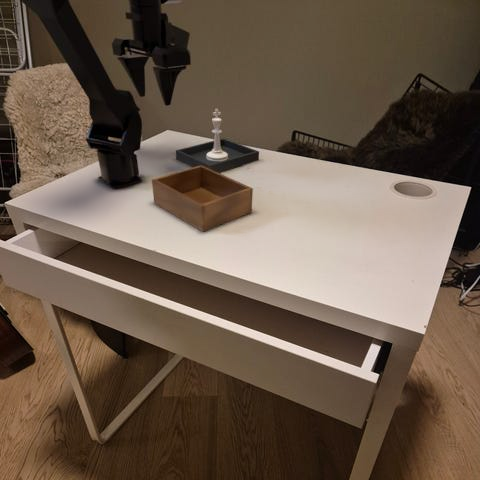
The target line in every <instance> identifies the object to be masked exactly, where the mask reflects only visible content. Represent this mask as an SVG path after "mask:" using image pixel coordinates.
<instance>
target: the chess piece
mask: <svg viewBox="0 0 480 480" xmlns="http://www.w3.org/2000/svg"><path fill="white" fill-rule="evenodd" d="M220 115H222V112H221V111H219V109H218V108H214V112H212V116H215V117H213V118H212V119H211V122H212V124H213V128H214V129H212V131H211V133H213V134H214V139H213V141H214V147H213V149H212V151H210V152H208V153H207V156H206V158H207V159H208V160H210V161H224V160H227V159H228V154H227V153H226V152H224V151H222V149H221V146H220V139H221V137H220V134H222V132H223V131H222V129H220V127H221V123H222V118H220V117H219V116H220Z"/></svg>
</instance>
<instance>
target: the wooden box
mask: <svg viewBox="0 0 480 480" xmlns="http://www.w3.org/2000/svg"><path fill="white" fill-rule="evenodd" d="M151 185H152V186H151V187H152V194H153V196H152V197H153V203H154V204H155V205H156V206H158V207H161V208H162V209H164V210H166V211H167V212H168V213H171V214H172V215H174V216H175V217H177V218H179V219H181V220H182V221H184V222H186V223H187V224H190V225H191V226H193V227H195V228H196V229H197V230H199V231H201V232H205V231H208V230H210V229H213V228H215V227H217V226H220V225H223V224H226V223H228V222H231V221H233V220H236V219H239V218H240V217H243V216H246V215H248V214H251V213H253V196H254V195H253V194H254V193H253V192H254V188H253V187H251V186H248V185H247V184H244V183H242V182H240V181H237V180H235V179H233V178H231V177H229V176H227V175H224V174H222V173H221V172H219V173H217V172H215V171H213V170H211V169H209V168H206V167H204V166H202V165H200V166H197V167H190V168H187V169H184V170H183V169H182V170H180V171H176V172H173V173H170V174H165V175H162V176H159V177H155V178H152V179H151Z"/></svg>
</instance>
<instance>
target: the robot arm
mask: <svg viewBox="0 0 480 480" xmlns="http://www.w3.org/2000/svg"><path fill="white" fill-rule="evenodd" d="M19 1H20V2H21V3H23V4H24V5H25V6H26V7H27V8H29V10H31V11H32V12H33V13H35V15H36V16H37V17H38V18H39V20H40V22H41V23H42V25H43V26H44V28H45V30H46V31H47V33H48V35H49V37H50V38H51V39H52V42H53V43H54V45H55V46H56V49H58V51H59V53H60V55H61V56H62V58H63V59H64V61H65V62H66V64H67V66H68V67H69V69H70V71H71V72H72V74H73V76H74V77H75V79H76V80H77V82H78V84H79V85H80V87H81V89H82V90H83V92H84V93H85V95H86V96H87V99H88V114H89V116H90V119H91V124H90V126H89V129H88V131H87V134H86V137H85V142H86V143H87V145H88V148H89V149H90V150H96V154H97V155H96V156H97V160H98V164H99V170H100V176H98V180H99V181H100V182H101V183H103V184H105V185H106V186H108V187H109V188H111V189H114V190H116V189H119V188H124V187H127V186H131V185H133V184H137V183H141V182H143V178H142V177H141V176H140V170H139V162H138V156H137V154H136V153H135V152H138V151H140V150H141V145H142V131H143V120H142V117H141V114H140V111H141V108H140V107H139V106H138V105H137V104H136V101H135V98H134V95H133V94H132V93H131V92H130V91H129V90H125V89H120V88H119V89H117V88H116V87H115V86H114V83H113V82H112V80H111V78H110V76H109V74H108V72H107V70H106V69H105V66H104V65H103V63H102V61H101V59H100V57H99V55H98V54H97V52H96V49H95V48H94V46H93V43H92V42H91V40H90V38H89V36H88V35H87V33H86V30H85V29H84V27H83V25H82V23H81V22H80V20H79V18H78V15H77V14H76V12H75V10H74V8H73V6H72V4H71V2H70V0H19ZM183 1H184V0H128V7H129V11H125V19H126V20H130V24H131V32H132V36H121V37H119V36H118V37H114V39H113V41H112V42H111V48H112V54H113V55H114V56H117V58H116V59H117V61H119V63H120V64H121V66H122V67H123V69H124V71H125V72H126V74H127V76H128V78H129V80H130V81H131V83H132V85H133V86H134V88H135V90H136V93H137V94H138V96H139V97H140V98H144V97H145V96H146V71H145V67H146V65H147V63H148V60H149V58H151V60H152V62H153V63H154V65H155V66H152V69H153V73H154V76H155V79H156V83H157V87H158V88H159V92H160V96H161V99H162V101H163V104H164V105H165V106H166V107H167V106H171V104H172V99H173V95H174V90H175V87H176V82H177V79H178V76H179V75H180V73H181V72H182V71H183V70H186V69H187V67H188V66H191V65H192V59H191V57H192V56H191V51H190V50H189V48H188V46H189V40H190V35H191V32H189V31H186V30H185V29H183V28H180V27H179V26H176V25H174V24H173V23H172V22H170V21H169V15H167V12H162V5H170V4H180V3H181V2H183ZM109 138H111V139H112V140H111V139H109ZM113 139H117V140H113ZM118 140H120V141H118Z"/></svg>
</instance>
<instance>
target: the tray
mask: <svg viewBox="0 0 480 480" xmlns="http://www.w3.org/2000/svg"><path fill="white" fill-rule="evenodd" d="M220 146H221V149H222V151H224V152H226V153H227V154H228V159H227V160H224V161H210V160H208V159H207V158H206V156H207V153H208V152H210V151H212V149H213V147H214V140H211V141H208V142H203V143H199V144H196V145H191V146H187V147H184V148H180V149H176V150H175V160H176V161H179V162H181V163H183V164H185V165H187V166H189V167H191V168H193V167H197V166H200V165H202V166H204V167H206V168H209V169H211V170H213V171H215V172H217V173H222V172H225V171H229V170H232V169H235V168H238V167H239V168H240V167H242V166H246V165H248V164H251V163H255V162H258V161H260V151H259V150H258V149H257V150H256V149H254V148H251V147H249V146H246V145H244V144H240V143H237V142H236V141H233V140H230V139H227V138H224V137H223V138H220Z"/></svg>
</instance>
